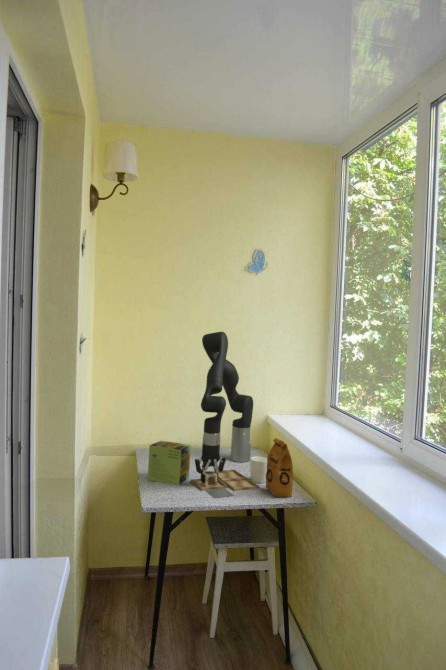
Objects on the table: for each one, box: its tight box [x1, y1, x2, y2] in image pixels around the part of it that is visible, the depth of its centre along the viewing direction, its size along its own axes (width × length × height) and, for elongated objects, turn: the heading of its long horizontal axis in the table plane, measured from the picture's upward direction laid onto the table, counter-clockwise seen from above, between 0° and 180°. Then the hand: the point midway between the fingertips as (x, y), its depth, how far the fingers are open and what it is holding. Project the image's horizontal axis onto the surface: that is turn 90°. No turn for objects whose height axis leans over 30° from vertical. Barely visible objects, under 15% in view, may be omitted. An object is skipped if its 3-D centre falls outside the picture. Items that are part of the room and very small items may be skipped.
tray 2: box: [213, 469, 246, 481], centre depth 233 cm, size 12×12×1 cm
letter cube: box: [201, 470, 217, 487], centre depth 220 cm, size 5×5×5 cm
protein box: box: [147, 440, 192, 486], centre depth 224 cm, size 10×15×16 cm
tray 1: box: [190, 477, 229, 492], centre depth 220 cm, size 12×12×1 cm
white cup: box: [249, 456, 267, 484], centre depth 230 cm, size 8×8×10 cm
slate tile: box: [204, 488, 235, 499], centre depth 210 cm, size 9×9×1 cm
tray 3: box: [222, 476, 260, 492], centre depth 222 cm, size 12×12×1 cm
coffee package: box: [265, 437, 294, 498], centre depth 216 cm, size 10×12×22 cm
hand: (209, 481), depth 220 cm, fingers closed on letter cube, 5 cm apart
